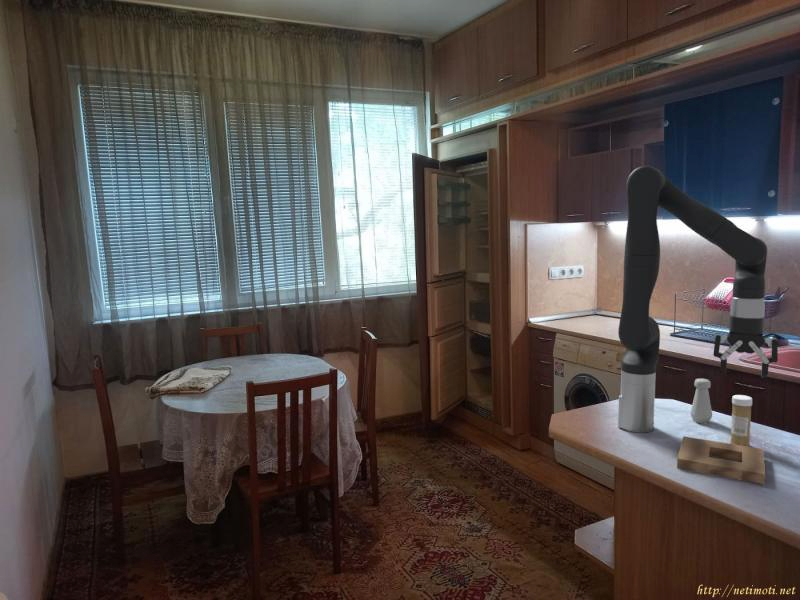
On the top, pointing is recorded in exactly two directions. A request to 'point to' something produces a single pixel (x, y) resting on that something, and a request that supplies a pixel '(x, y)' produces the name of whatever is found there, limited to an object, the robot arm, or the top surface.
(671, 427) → the top surface
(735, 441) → the sprinkles bottle
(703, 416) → the salt shaker
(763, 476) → the holder board
